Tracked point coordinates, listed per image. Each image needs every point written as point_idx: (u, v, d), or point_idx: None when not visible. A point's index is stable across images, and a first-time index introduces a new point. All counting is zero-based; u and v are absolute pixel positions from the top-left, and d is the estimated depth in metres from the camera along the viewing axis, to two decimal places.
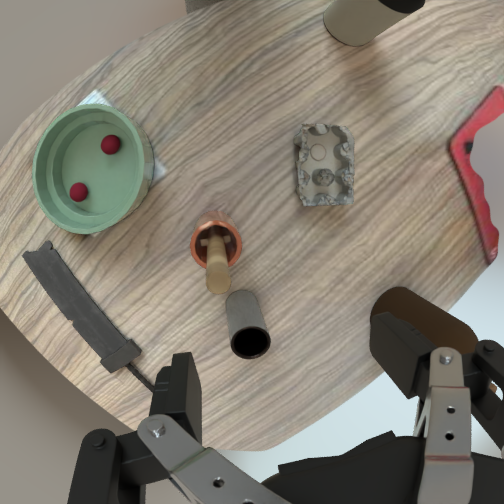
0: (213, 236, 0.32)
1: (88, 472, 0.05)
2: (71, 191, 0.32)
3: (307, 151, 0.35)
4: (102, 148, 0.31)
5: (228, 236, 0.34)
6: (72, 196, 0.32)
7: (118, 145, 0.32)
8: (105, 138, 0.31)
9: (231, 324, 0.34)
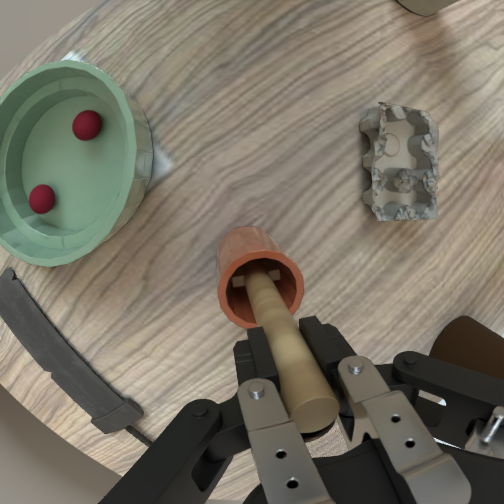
0: (256, 275, 0.19)
1: (175, 437, 0.07)
2: (30, 198, 0.19)
3: (384, 142, 0.22)
4: (74, 131, 0.19)
5: (277, 271, 0.21)
6: (32, 206, 0.19)
7: (98, 125, 0.19)
8: (78, 115, 0.18)
9: None
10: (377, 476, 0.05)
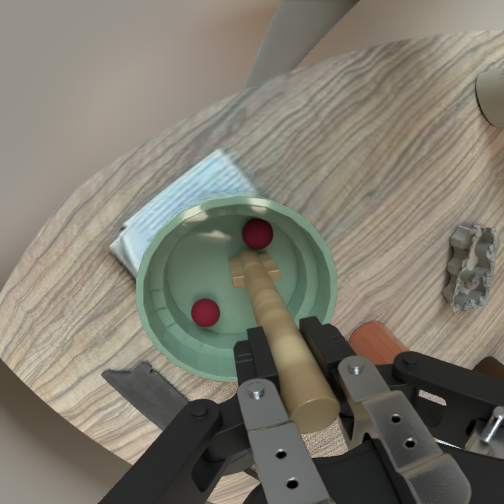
0: (257, 275, 0.19)
1: (174, 437, 0.07)
2: (198, 316, 0.25)
3: (467, 259, 0.28)
4: (247, 230, 0.24)
5: (277, 272, 0.21)
6: (200, 323, 0.25)
7: (272, 232, 0.24)
8: (252, 219, 0.24)
9: None
10: (377, 476, 0.05)
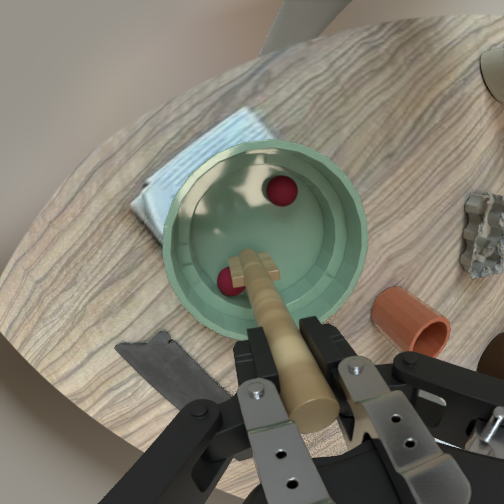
0: (256, 275, 0.19)
1: (175, 437, 0.07)
2: (226, 291, 0.25)
3: (483, 224, 0.27)
4: (270, 187, 0.23)
5: (277, 272, 0.21)
6: None
7: (296, 191, 0.23)
8: (277, 176, 0.24)
9: None
10: (377, 476, 0.05)
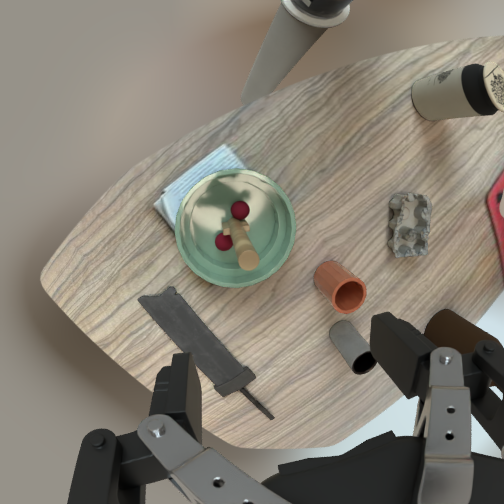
0: (235, 226, 0.36)
1: (88, 472, 0.05)
2: (225, 236, 0.40)
3: (402, 216, 0.43)
4: None
5: (247, 226, 0.38)
6: (226, 240, 0.40)
7: (244, 218, 0.41)
8: (235, 208, 0.39)
9: (348, 350, 0.43)
10: (411, 456, 0.05)
